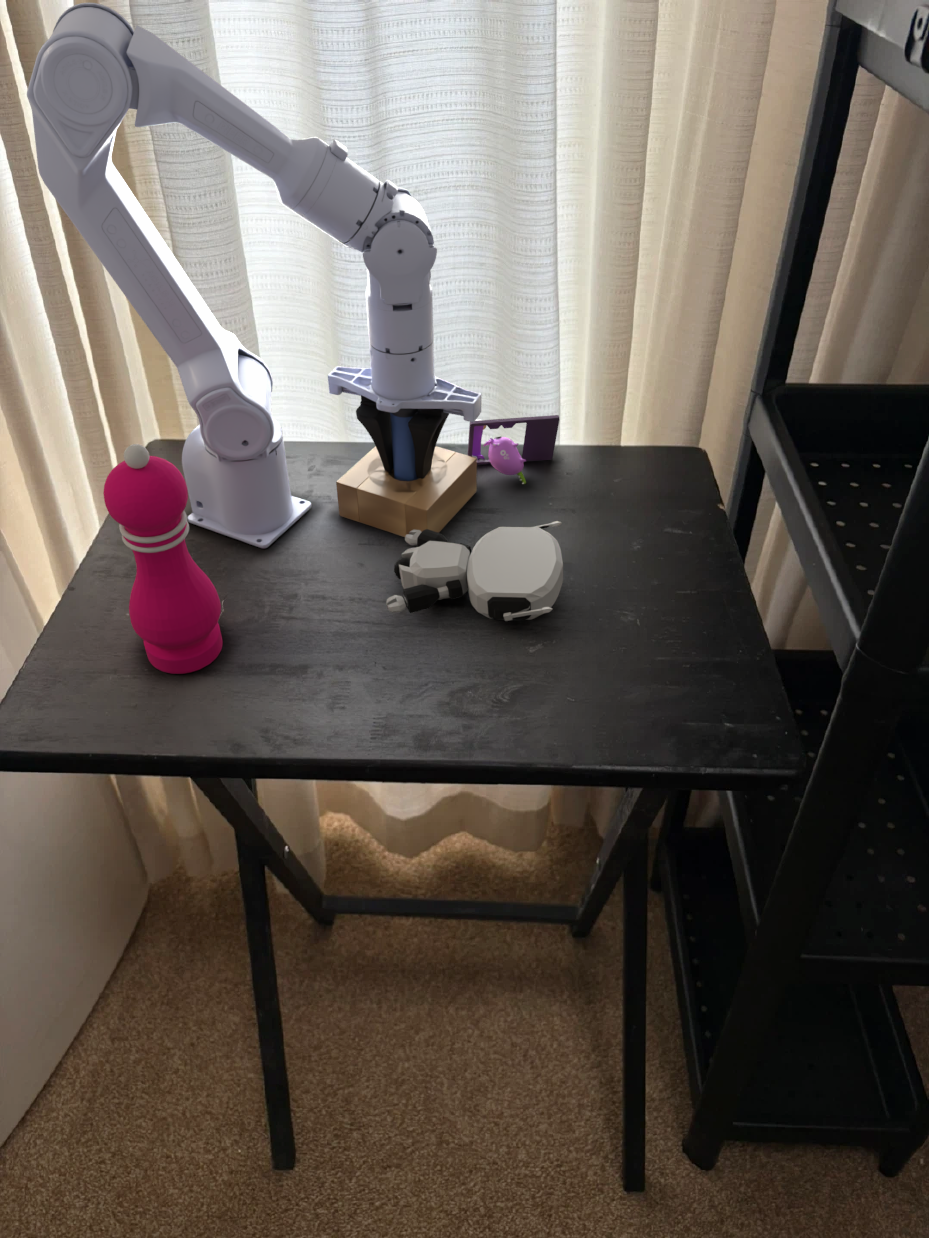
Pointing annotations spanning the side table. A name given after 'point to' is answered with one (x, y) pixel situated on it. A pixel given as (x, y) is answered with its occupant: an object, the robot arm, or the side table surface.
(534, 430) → the purple toy with frame
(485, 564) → the robot toy
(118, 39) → the robot arm
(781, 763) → the side table surface
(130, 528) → the pepper mill
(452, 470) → the holder
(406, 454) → the blue domed cylinder
